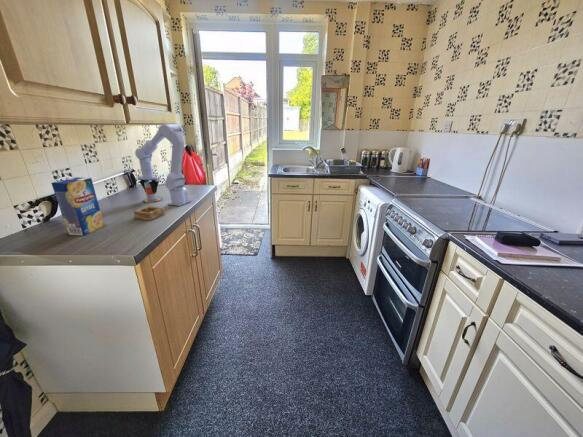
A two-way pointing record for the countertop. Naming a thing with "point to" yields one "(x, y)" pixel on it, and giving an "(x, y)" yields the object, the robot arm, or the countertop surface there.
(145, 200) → the coaster
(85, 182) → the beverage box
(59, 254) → the countertop surface
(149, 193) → the can
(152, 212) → the holder
